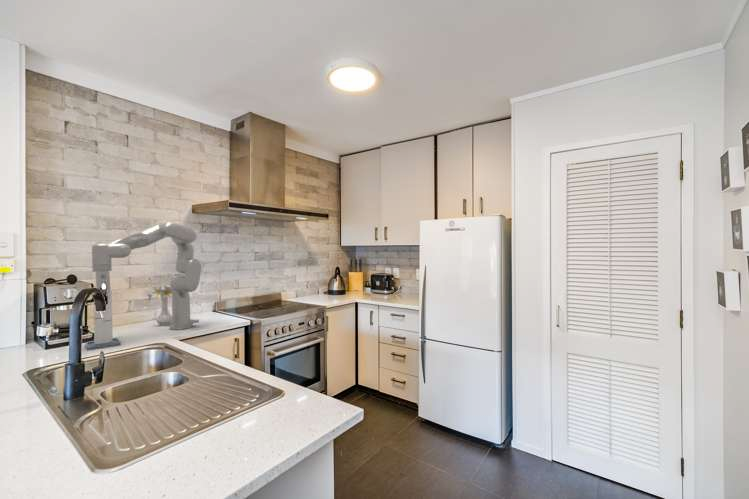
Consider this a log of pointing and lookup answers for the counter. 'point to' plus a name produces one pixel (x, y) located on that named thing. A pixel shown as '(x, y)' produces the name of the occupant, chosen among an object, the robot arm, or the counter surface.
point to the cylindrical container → (103, 323)
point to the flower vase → (163, 305)
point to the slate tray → (93, 346)
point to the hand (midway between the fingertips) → (102, 303)
